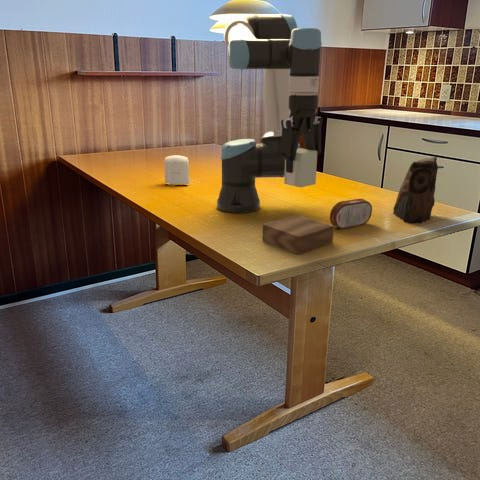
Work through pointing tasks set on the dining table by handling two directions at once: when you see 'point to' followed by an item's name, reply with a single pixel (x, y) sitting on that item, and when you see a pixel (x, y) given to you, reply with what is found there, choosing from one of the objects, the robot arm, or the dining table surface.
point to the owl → (417, 192)
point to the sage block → (304, 168)
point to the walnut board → (298, 234)
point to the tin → (350, 213)
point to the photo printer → (176, 170)
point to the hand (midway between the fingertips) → (299, 182)
